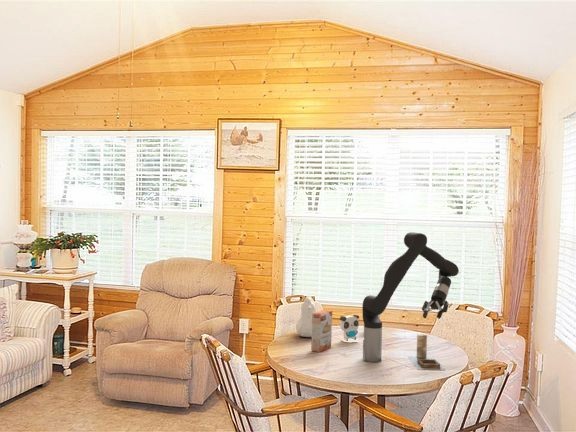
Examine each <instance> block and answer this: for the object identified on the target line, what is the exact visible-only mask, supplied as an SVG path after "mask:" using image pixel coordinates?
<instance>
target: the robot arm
mask: <svg viewBox="0 0 576 432" xmlns="http://www.w3.org/2000/svg"><path fill="white" fill-rule="evenodd" d="M403 243H404V245H405V246H406V247H407V250H406V251H405V252H404V253H403V254H402V255H400V256H399V257H397V258H396V259H395V260H394V261H392V262H391V264H390V265H389V266H388V269H387V270H386V271H385V274H384V277H383V282H382V283H383V285H382V287H381V289H380V291H379V292H378V293H377V295H371V294H370V295H366V296H365V297H364V299H363V301H362V309H361V310H362V321H363V340H362V348H363V349H362V360H363V361H364V362H369V363H370V362H371V363H378V362H381V361H382V358H383V357H382V346H383V343H382V341H383V337H382V336H383V321H382V320H381V319H379V317H378V315H380V316H381V314H383V313H384V312H385V310H386V308H387V306H388V305H389V302H390V300H391V298H392V297H393V295H394V293H395V291H396V290H397V288H398V286H399V285H400V284H401V282H403V279H404V277H405V276H406V274H407V273H408V271H409V269H410V268H411V267H412V265H413V264H414V262H415V260H417V258H418V257H419V256H421V257H422V258H423V259H425V260H426V261H428V262H429V264H431V265H432V266H433V267H434V268H436V269H437V270H438V279H437V282H436V285H435V287H434V289H433V292H432V294H431V296H430V297H431V298H430V301H428V300H425V301H424V303H423V305H422V306H421V311H423V312H422V318H423V319H427V317H428V314H429V312H432V311H433V310H437V314H436V318H437V319H438V320H439V319H440V320H441V319H442V315H443V314H444V313H447V312H448V309H449V306H450V304H449V302H448V301H447V297H448V294H449V290H450V289H451V288H450V287H451V285H452V280H451V277H456V276H457V275H458V274H459V273H460V269H459V267H458V265H457V264H456V263H454V262H453V261H451V260H449V259H447V258H445V257H444V256H442V255H441V254H440V253H439V252H438V251H436V250H434V249H432V248H430V247H429V246H427V243H428V238H427V235H426V234H424V233H421V232H415V231H409V232H407V233H406V234H405V235H404V238H403Z"/></svg>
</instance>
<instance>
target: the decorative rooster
mask: <svg viewBox="0 0 576 432" xmlns="http://www.w3.org/2000/svg"><path fill="white" fill-rule="evenodd" d="M316 308H317V307H316V305H315V303H314V301H312V298H311V297H310V296H306V297H305V298H304V300H303V302H302V305H301V316H300V317H299V319H298V320H297V323H296V325H295V328H296V329H295V330H296V333H297V335H298V336H300V337H303V338H304V337H305V338H312V313H316V312H317V309H316Z"/></svg>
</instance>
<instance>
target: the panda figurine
mask: <svg viewBox="0 0 576 432" xmlns="http://www.w3.org/2000/svg"><path fill="white" fill-rule="evenodd" d="M359 319H360V316H359V315H357V314H353V315H345V316H343V315H340V317H339V320H340V325H339V326H340V330H342V331H343V338H344V340H346V341H348V339H354V340H356V339H357V334H358V333H359V331H358V329H359V326H360V322H359Z"/></svg>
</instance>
